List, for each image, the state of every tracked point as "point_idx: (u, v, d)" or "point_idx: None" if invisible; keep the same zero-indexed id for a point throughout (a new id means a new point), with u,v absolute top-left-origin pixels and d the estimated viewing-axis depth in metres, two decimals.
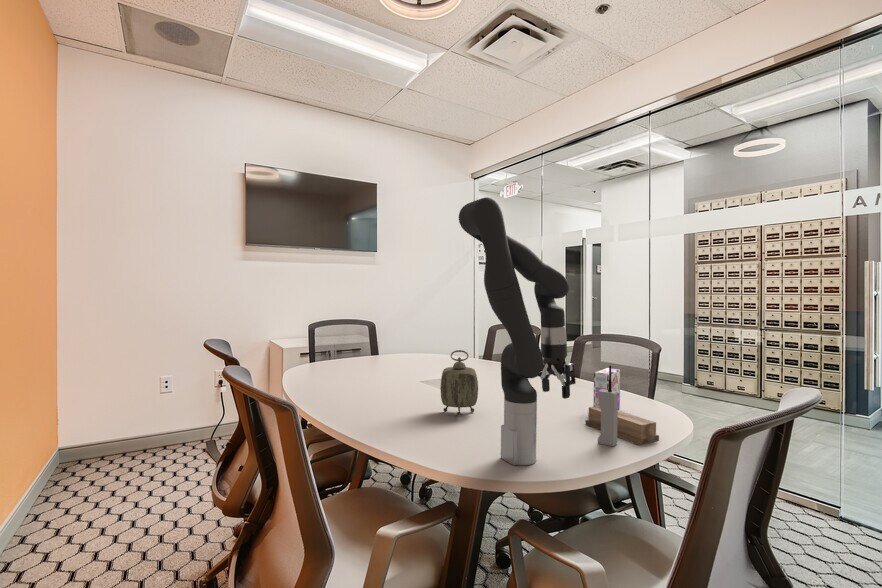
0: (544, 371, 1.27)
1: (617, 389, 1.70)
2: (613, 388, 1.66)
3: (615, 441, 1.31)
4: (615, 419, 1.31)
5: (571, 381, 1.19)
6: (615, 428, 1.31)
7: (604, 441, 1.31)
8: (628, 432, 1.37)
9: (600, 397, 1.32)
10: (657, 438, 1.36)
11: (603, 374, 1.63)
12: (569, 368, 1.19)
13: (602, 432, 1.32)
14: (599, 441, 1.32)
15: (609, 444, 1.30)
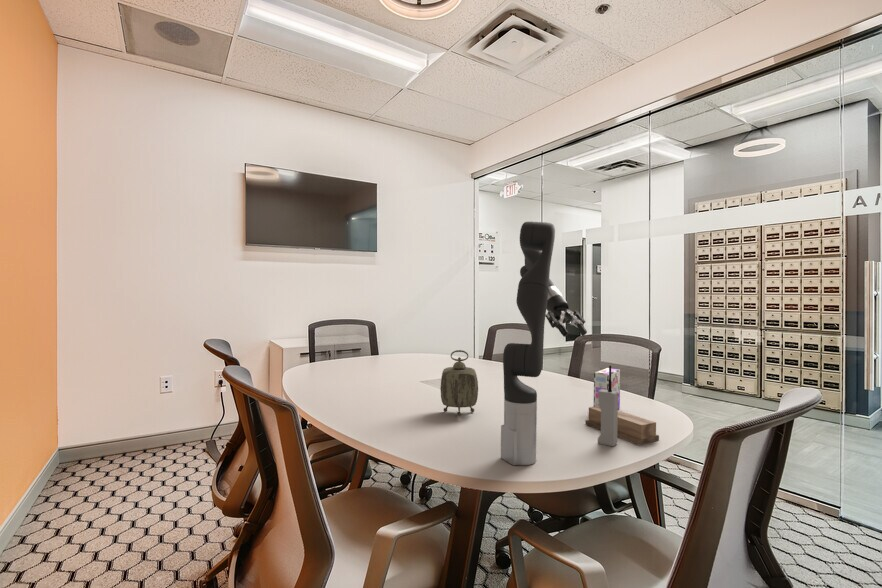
0: (562, 317, 1.47)
1: (617, 389, 1.70)
2: (613, 388, 1.66)
3: (615, 441, 1.31)
4: (615, 419, 1.31)
5: None
6: (615, 428, 1.31)
7: (604, 441, 1.31)
8: (628, 432, 1.37)
9: (600, 397, 1.32)
10: (657, 438, 1.36)
11: (603, 374, 1.63)
12: None
13: (602, 432, 1.32)
14: (599, 441, 1.32)
15: (609, 444, 1.30)
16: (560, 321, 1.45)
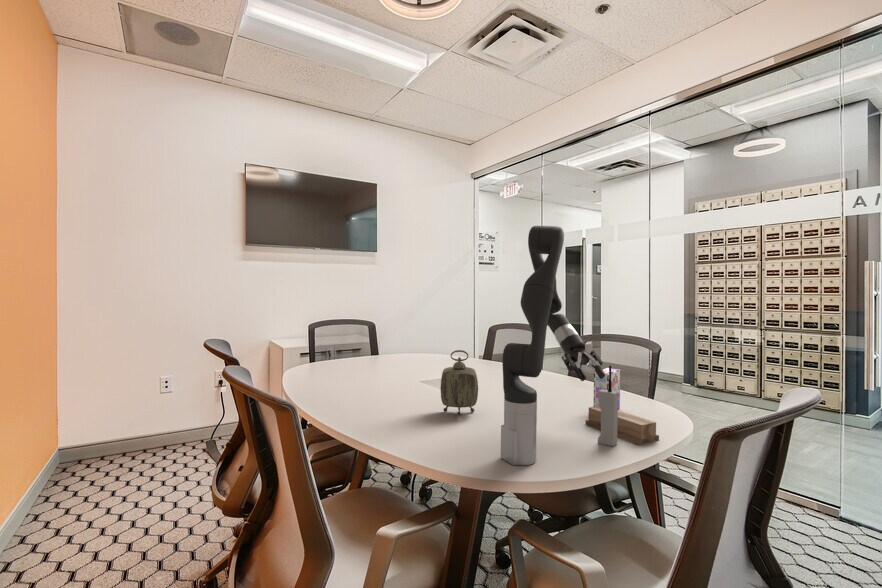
0: (580, 359, 1.40)
1: (617, 389, 1.70)
2: (613, 388, 1.66)
3: (615, 441, 1.31)
4: (615, 419, 1.31)
5: None
6: (615, 428, 1.31)
7: (604, 441, 1.31)
8: (628, 432, 1.37)
9: (600, 397, 1.32)
10: (657, 438, 1.36)
11: None
12: None
13: (602, 432, 1.32)
14: (599, 441, 1.32)
15: (609, 444, 1.30)
16: (577, 364, 1.38)
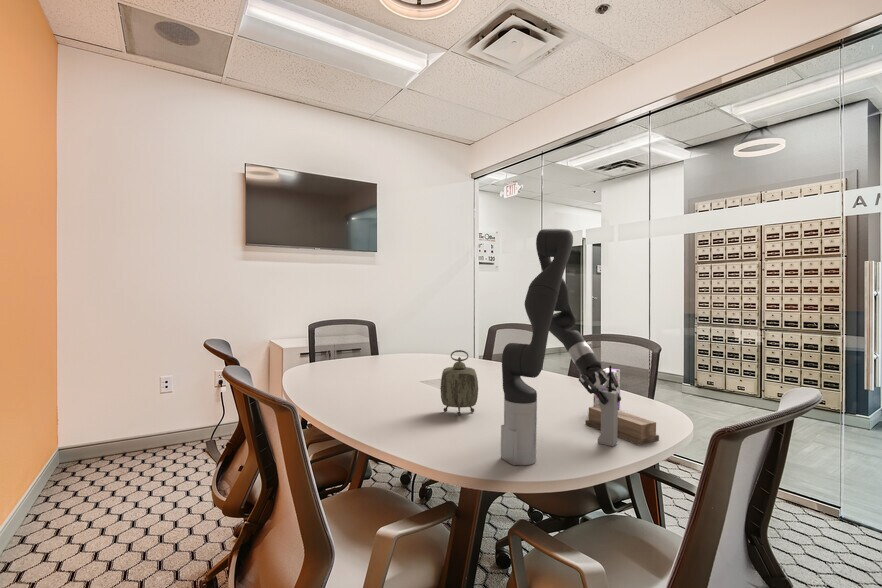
0: (598, 380, 1.33)
1: (617, 389, 1.70)
2: None
3: (615, 441, 1.31)
4: (615, 419, 1.31)
5: None
6: (615, 428, 1.31)
7: (604, 441, 1.31)
8: (628, 432, 1.37)
9: None
10: (657, 438, 1.36)
11: None
12: None
13: (602, 432, 1.32)
14: (599, 441, 1.32)
15: (609, 444, 1.30)
16: (598, 386, 1.32)
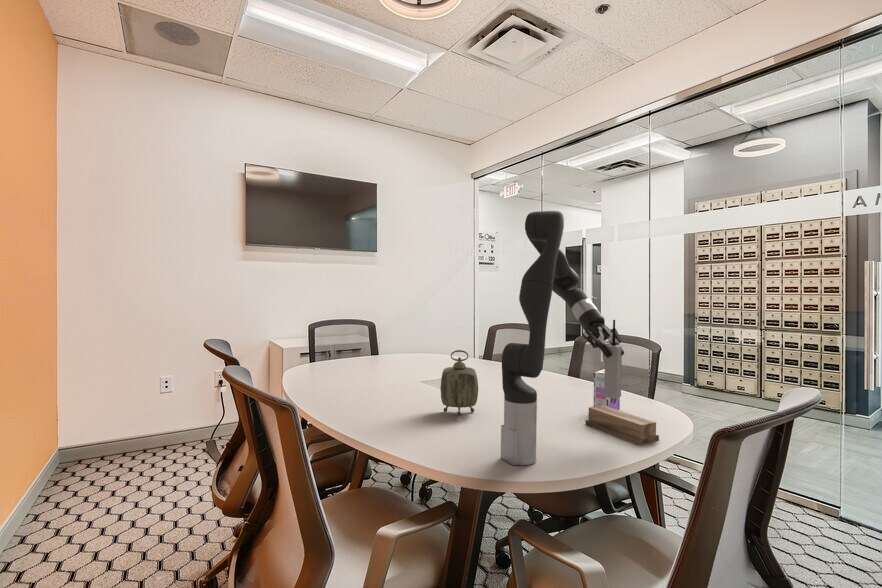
0: (602, 334, 1.34)
1: None
2: None
3: (618, 394, 1.32)
4: (619, 372, 1.32)
5: None
6: (619, 381, 1.32)
7: (607, 394, 1.33)
8: (628, 432, 1.37)
9: None
10: (657, 438, 1.36)
11: (603, 374, 1.63)
12: None
13: (605, 385, 1.33)
14: (602, 394, 1.34)
15: (612, 397, 1.32)
16: (601, 340, 1.33)
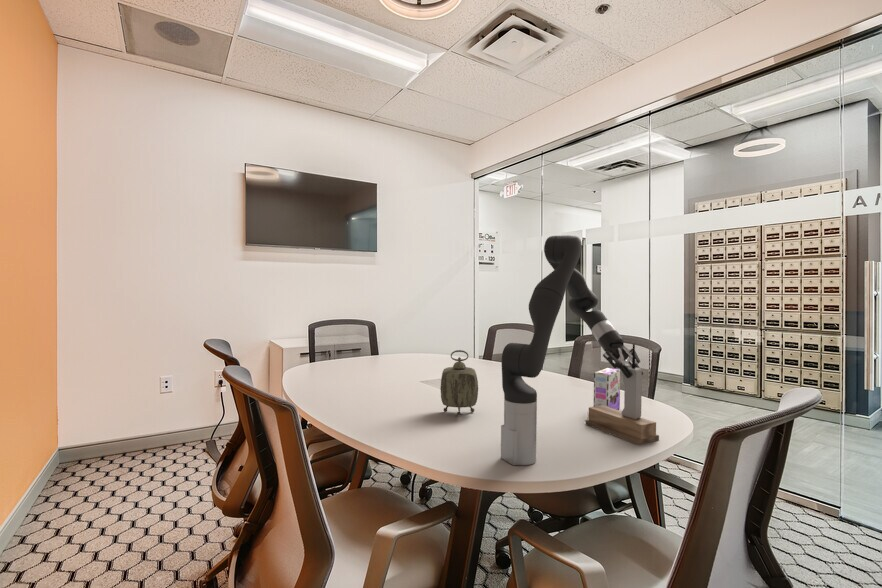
0: (622, 355, 1.41)
1: (617, 389, 1.70)
2: (613, 388, 1.66)
3: (638, 414, 1.39)
4: (638, 394, 1.38)
5: None
6: (638, 402, 1.38)
7: (627, 414, 1.40)
8: (628, 432, 1.37)
9: None
10: (657, 438, 1.36)
11: (603, 374, 1.63)
12: None
13: (625, 406, 1.40)
14: (622, 414, 1.41)
15: (632, 417, 1.39)
16: (622, 361, 1.39)
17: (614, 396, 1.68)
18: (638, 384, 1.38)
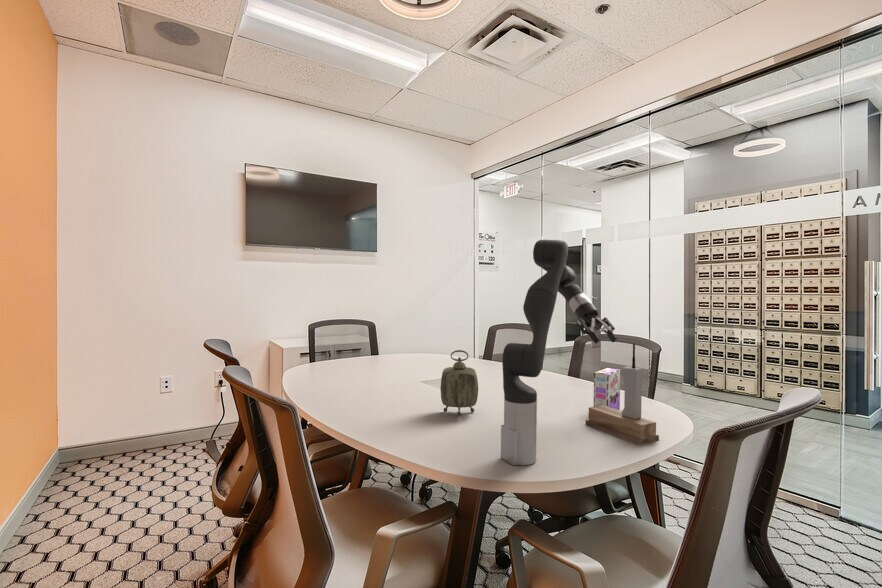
0: (593, 324, 1.51)
1: (617, 389, 1.70)
2: (613, 388, 1.66)
3: (638, 415, 1.39)
4: (638, 394, 1.39)
5: None
6: (638, 402, 1.39)
7: (627, 414, 1.40)
8: (628, 432, 1.37)
9: (624, 373, 1.41)
10: (657, 438, 1.36)
11: (603, 374, 1.63)
12: None
13: (625, 406, 1.40)
14: (623, 414, 1.41)
15: (632, 417, 1.39)
16: (591, 328, 1.50)
17: (614, 396, 1.68)
18: (638, 384, 1.39)
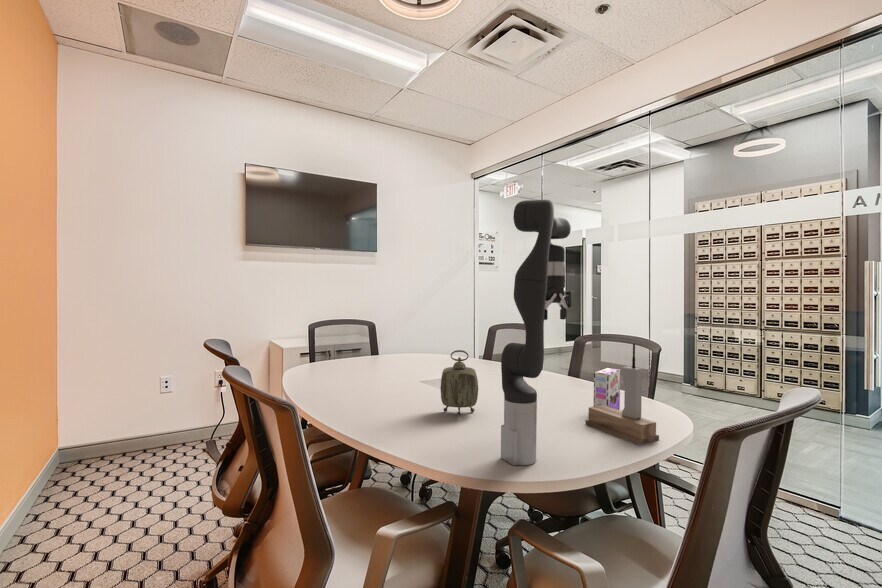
0: (551, 301, 1.48)
1: (617, 389, 1.70)
2: (613, 388, 1.66)
3: (638, 415, 1.39)
4: (638, 394, 1.39)
5: None
6: (638, 402, 1.39)
7: (627, 414, 1.40)
8: (628, 432, 1.37)
9: (624, 373, 1.41)
10: (657, 438, 1.36)
11: (603, 374, 1.63)
12: None
13: (625, 406, 1.40)
14: (623, 414, 1.41)
15: (632, 417, 1.39)
16: (546, 305, 1.47)
17: (614, 396, 1.68)
18: (638, 384, 1.39)
